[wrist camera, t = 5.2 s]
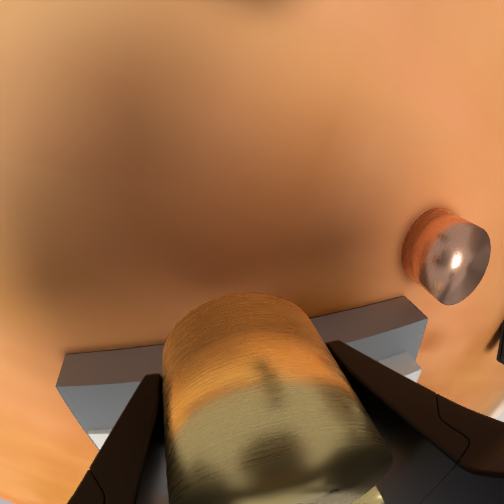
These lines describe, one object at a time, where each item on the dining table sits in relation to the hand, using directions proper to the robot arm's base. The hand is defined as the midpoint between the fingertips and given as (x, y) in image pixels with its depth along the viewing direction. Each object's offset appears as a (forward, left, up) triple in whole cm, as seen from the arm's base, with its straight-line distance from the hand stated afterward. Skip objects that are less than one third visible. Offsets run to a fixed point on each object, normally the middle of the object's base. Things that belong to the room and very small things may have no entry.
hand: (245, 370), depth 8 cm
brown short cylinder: (-1, -12, -7) cm, 14 cm away
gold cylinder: (0, 0, -1) cm, 0 cm away
